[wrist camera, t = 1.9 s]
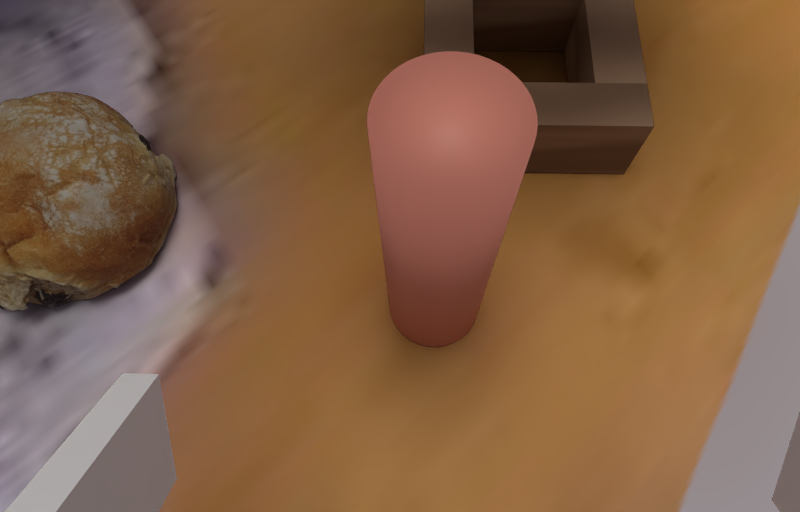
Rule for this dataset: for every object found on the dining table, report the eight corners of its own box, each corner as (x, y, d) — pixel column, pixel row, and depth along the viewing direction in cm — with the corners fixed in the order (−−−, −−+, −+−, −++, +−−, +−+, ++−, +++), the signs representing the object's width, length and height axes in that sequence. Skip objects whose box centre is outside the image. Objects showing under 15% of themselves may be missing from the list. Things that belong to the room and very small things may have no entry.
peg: (376, 282, 27) (342, 83, 14) (454, 250, 28) (490, 31, 15) (411, 361, 26) (408, 218, 13) (493, 325, 26) (569, 154, 13)
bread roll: (220, 259, 32) (226, 142, 26) (32, 376, 25) (-14, 252, 19) (103, 161, 34) (86, 35, 29) (-96, 243, 28) (-169, 100, 22)
